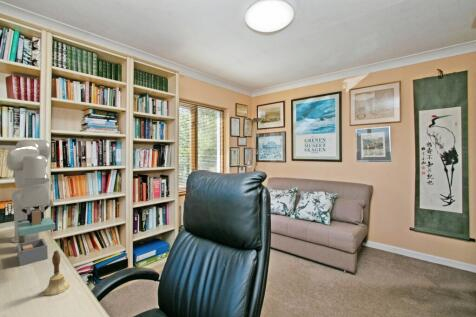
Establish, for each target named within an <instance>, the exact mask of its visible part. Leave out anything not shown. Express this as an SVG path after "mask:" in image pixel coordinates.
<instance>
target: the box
mask: <svg viewBox="0 0 476 317" xmlns="http://www.w3.org/2000/svg"><path fill="white" fill-rule="evenodd" d="M16 247H17V250H16V251H17V260H18V264H19V267H22V266H26V265H30V264H34V263H37V262H41V261H44V260H47V259H48V256H49V254H48V253H49V252H48V245H47V243H46V241H45V239H44V238H39V239H37V240H33V241H28V242H24V243H19V242H18V243H17V244H16Z"/></svg>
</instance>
